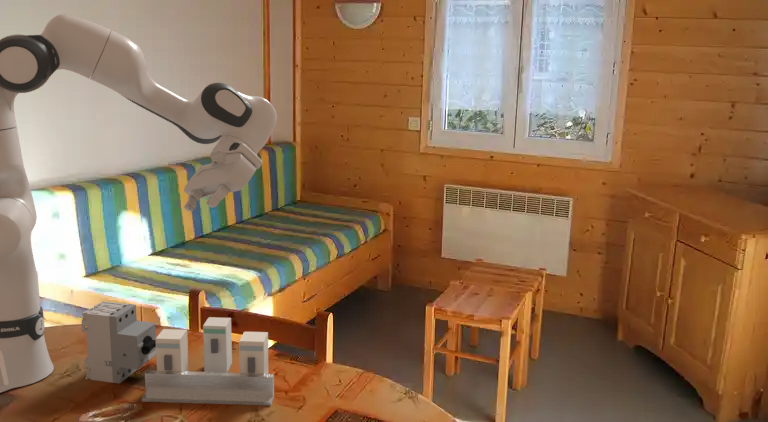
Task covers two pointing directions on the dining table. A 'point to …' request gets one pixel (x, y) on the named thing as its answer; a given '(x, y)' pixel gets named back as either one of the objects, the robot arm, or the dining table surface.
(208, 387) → the rail
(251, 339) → the module right
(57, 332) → the dining table surface
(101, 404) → the dining table surface
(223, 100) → the robot arm
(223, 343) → the loose module
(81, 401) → the dining table surface
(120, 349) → the circuit breaker
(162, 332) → the module left
